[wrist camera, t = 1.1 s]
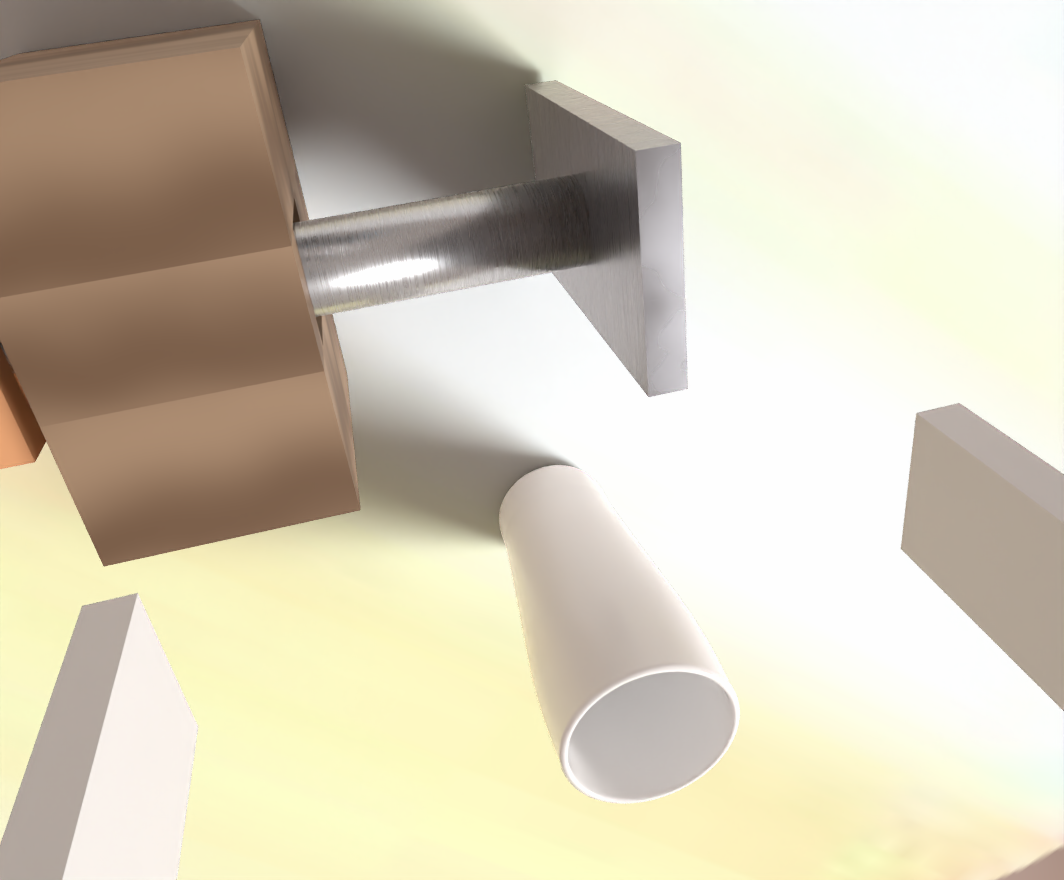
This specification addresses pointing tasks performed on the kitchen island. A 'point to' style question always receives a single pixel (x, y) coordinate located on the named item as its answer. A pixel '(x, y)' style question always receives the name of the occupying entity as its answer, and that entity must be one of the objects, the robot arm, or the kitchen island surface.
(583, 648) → the drinking glass
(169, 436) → the bearing block
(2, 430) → the orange square frame
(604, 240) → the shaft
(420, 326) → the kitchen island surface
